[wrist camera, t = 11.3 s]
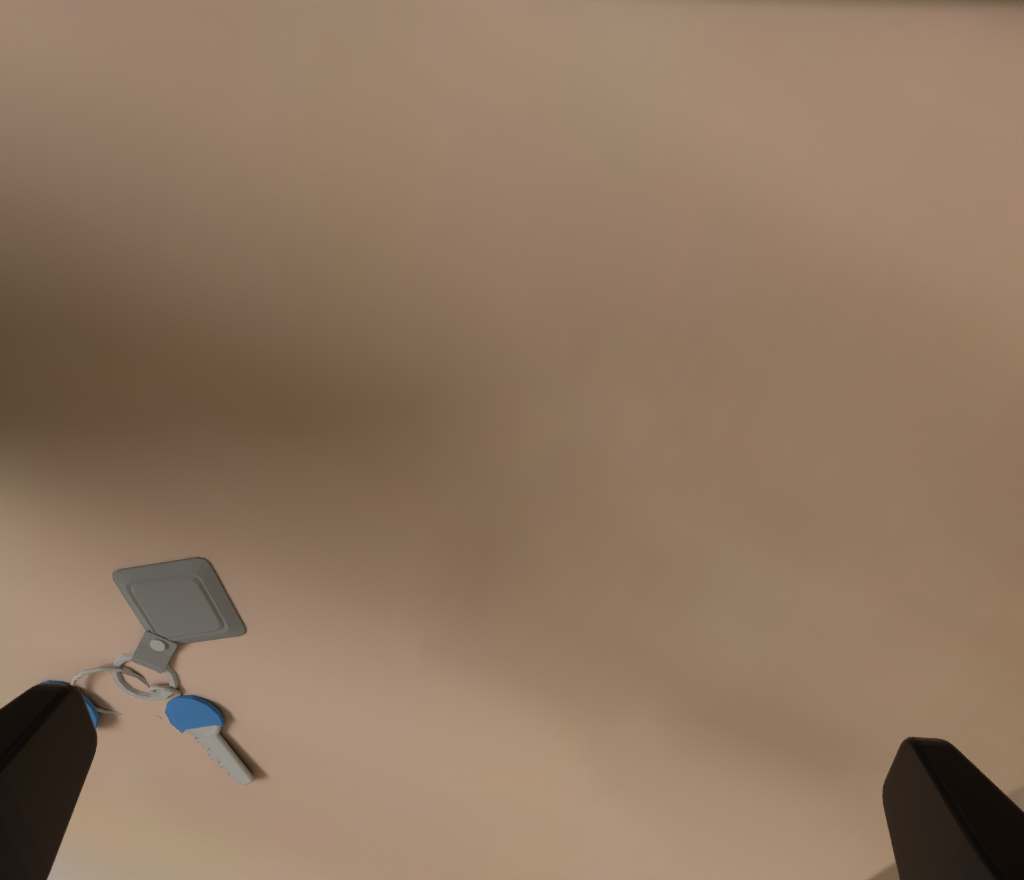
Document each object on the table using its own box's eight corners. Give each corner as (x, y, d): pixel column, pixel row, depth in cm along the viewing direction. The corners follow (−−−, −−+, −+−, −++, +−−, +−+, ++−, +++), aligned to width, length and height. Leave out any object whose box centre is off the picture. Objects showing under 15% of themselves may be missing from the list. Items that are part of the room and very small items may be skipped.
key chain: (154, 517, 23) (141, 534, 23) (381, 651, 26) (376, 671, 25) (-12, 741, 29) (-26, 760, 28) (185, 833, 32) (176, 853, 31)
